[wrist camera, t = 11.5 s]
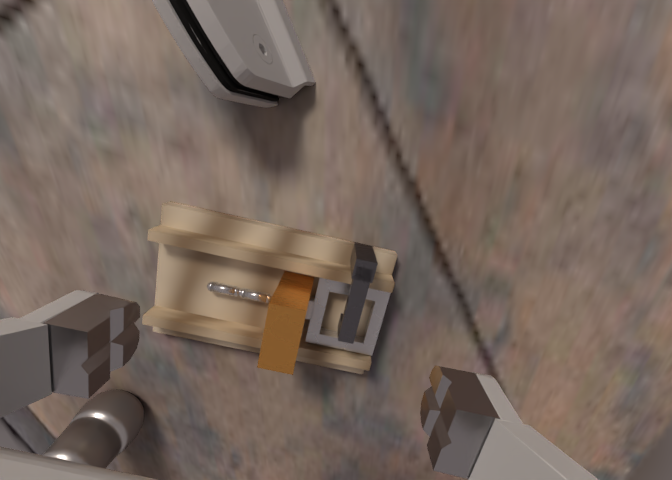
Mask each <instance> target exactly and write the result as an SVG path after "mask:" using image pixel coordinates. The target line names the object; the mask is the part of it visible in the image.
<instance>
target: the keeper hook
mask: <svg viewBox="0 0 672 480" xmlns="http://www.w3.org/2000/svg"><path fill="white" fill-rule="evenodd" d="M350 265H351V279H352V282H351V286H350V290H349V294H348V297H347V301H346V305H345V309H344V313H343V314H342V313H341V315H340V319H339V323H338V332H337V337H338V341H341V342H346V343H351V344H353V343H354V340H355V336H356V332H357V329H358V325H359V321H360V318H361V314H362V310H363V307H364V303H365V299H366V296H367V292H368V288H369V285H370V283H373V279H374V275H375V272H376V268H377V265H378V262H377V259H376V256H375V253H374V249H373V246H369V245H365V244H360V243H356V242H354V246H353V250H352V254H351V258H350Z"/></svg>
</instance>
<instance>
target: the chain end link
mask: <svg viewBox="0 0 672 480" xmlns="http://www.w3.org/2000/svg"><path fill="white" fill-rule="evenodd" d="M313 282H314V277H311V276H306V275H301V274H297V273H292V272H287V271H285V272H284V274H283V276H282V278H281V280H280V282H279V284H278V286H277V288H276V290H275V292H274V294H273V296H272V295H271V294H270V293H265V292H261V291H256V290H251V289H247V288H242V289H240V288H239V287H237V286H233V285H228V284H223V283H218V282H214V281H211V282H209V283H208V284H207V289H208V290H209V291H211V292H216V293H221V294H225V295H230V296H235V297H237V296H240V297H241V298H244V299H249V300H254V301H258V302H263V303H269V306H268V311H267V317H266V322H265V328H264V333H263V339H262V344H261V349H260V355H259V360H258V366H257V367H258V368H263V369H267V370H272V371H277V372H282V373H287V374H292V375H293V371H294V367H295V362H296V358H297V353H298V349H299V345H300V340H301V336H302V331H303V327H304V322H305V319H310V322H309V327H308V331H307V335H306V340H305V342H308V343H313V344H318V345H323V346H327V347H332V348H337V349H342V350H347V351H352V352H356V353H361V354H366V355H371V356H372V355H373V351H374V348H375V345H376V341H377V338H378V334H379V331H380V328H381V324H382V321H383V317H384V314H385V311H386V307H387V304H388V300H389V297H390V294H391V293H389V292H385V291H380V290H375V289H371V288H368V292H367V296H366V299H367V300H372V301H373V303H372V306H371V310H370V313H369V317H368V320H367V324H366V328H365V331H364V335H363V337H362V336H357V335H356V336H355V340H354V343H353V344H351V343H346V342H341V341H338V337H337V332H338V331H333V330H328V329H324V328H321V324H322V320H323V316H324V312H325V307H326V303H327V299H328V295H329V291H330V292H334V293H339V294H344V295H348V294H349V290H350V286H351V284H348V283H343V282H338V281H334V280H329V279H324V278H319V282H318V287H317V291H316V295H315V296H312V295H311V291H312V286H313Z"/></svg>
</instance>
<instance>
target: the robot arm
mask: <svg viewBox="0 0 672 480" xmlns="http://www.w3.org/2000/svg"><path fill="white" fill-rule="evenodd" d="M139 318H140V306H139V305H138V304H137V303H136V302H134V301H129V300H125V299H121V298H116V297H112V296H108V295H103V294H99V293H95V292H90V291H85V290H75V291H73V292H71V293H69V294H67V295H65V296H63V297H61V298H59V299H57V300H55V301H53V302H51V303H49V304H47V305H45V306H43V307H41V308H39V309H37V310H35V311H33V312H31V313H29V314H27V315H25V316H23V317H21V318H19V319H18V318H13V317H12V318H6V319H1V320H0V418H1V417H3V416H6V415H8V414H10V413H12V412H14V411H16V410H18V409H21V408H23V407H25V406H27V405H29V404H31V403H34V402H36V401H38V400H40V399H42V398H44V397H46V396H49V395H51V394H52V392H54V393H60V394H65V395H71V396H77V397H82V398H88V399H89V398H90V397H91V396H92V395H93V394H94V393H95V392H96V391H97V390H98V389H99V388H101V387H102V386H103V385H104V384H105V383H106V382H107V381H108V380H109V379H110V371H113V370H115V369H118V368H121V367H123V366H124V365H125V364H126V363H127V362H128V361H129V360H130V359H131V357H132V356H133V354H134V352H135V351H136V349H137V346H138V342H139V330H138V328H137V327H136V325H135V324H134V323H135V322H136V321H137V320H138V319H139ZM429 379H430V382H431V385H432V386H431V387H430V388H429V389H427V390H426V391H425V392H424V395H423V398H422V401H421V411H420V414H421V423H422V427H423V430H424V431H425V432H426V433H427V435H428V436H429V437H430V438H429V441H428V443H427V447H428V451H429V455H430V459H431V463H432V467H433V471H438V472H442V473H446V474H450V475H454V476H458V477H463V478H467V479H469V480H598V479H597V478H596V477H594V476H593V475H592V474H591V473H589V472H588V471H587V470H585V469H584V468H583V467H582V466H580V465H579V464H578V463H577V462H575V461H574V460H573V459H571V458H570V457H569V456H568V455H566V454H565V453H564V452H563V451H561V450H560V449H559V448H557V447H556V446H555V445H554V444H552V443H551V442H550V441H549V440H547V439H546V438H545V437H544V436H542V435H541V434H540V433H538V432H537V431H536V430H535V429H533V428H532V427H531V426H529V425H524V424H523V423H522V421H521V420H520V418H519V416H518V415H517V413H516V412H515V410H514V408H513V407H512V405H511V404H510V402H509V400H508V399H507V397H506V396H505V394H504V392H503V391H502V389H501V388H500V386H499V384H498V383H497V381H496V380H495V378H493V377H492V376H490V375H485V374H479V373H474V372H466V371H461V370H456V369H451V368H445V367H440V366H435V367H434V368H433V369H432V372H431V374H430V377H429ZM0 480H159V479H154V478H149V477H144V476H140V475H135V474H130V473H125V472H120V471H115V470H111V469H106V468H101V467H96V466H91V465H86V464H82V463H77V462H72V461H67V460H62V459H57V458H53V457H48V456H43V455H38V454H33V453H28V452H24V451H19V450H14V449H9V448H4V447H0Z"/></svg>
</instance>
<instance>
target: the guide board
mask: <svg viewBox="0 0 672 480" xmlns="http://www.w3.org/2000/svg"><path fill="white" fill-rule="evenodd" d="M148 240H149V241H153V242H158V243H159V254H158V268H157V281H156V295H155V306H154V307H152V308H151V309H150V310H149V311H147V312H146V313H145V314H144V315H143V323H142V324H145V325H150V326H153V331H154V332H159V333H163V334H168V335H173V336H178V337H183V338H188V339H193V340H197V341H202V342H207V343H212V344H217V345H222V346H227V347H231V348H236V349H241V350H246V351H251V352H256V353H260V349H261V344H262V339H263V333H264V328H265V322H266V317H267V311H268V306H269V303H263V302H258V301H254V300H249V299H244V298H241V297H240V296H237V297H235V296H230V295H225V294H221V293H216V292H211V291H209V290H208V289H207V284H208V283H209V282H211V281H214V282H218V283H223V284H228V285H233V286H237V287H239V288H240V289H242V288H247V289H251V290H256V291H261V292H265V293H270V294H271V295H272V296H273V294H274V292H275V290H276V288H277V286H278V284H279V282H280V280H281V278H282V276H283V274H284V272H285V271H287V272H292V273H297V274H301V275H306V276H311V277H314V282H313V286H312V291H311V295H312V296H315V295H316V291H317V287H318V282H319V278H324V279H329V280H334V281H338V282H343V283H348V284H351V282H352V279H351V265H350V258H351V254H352V250H353V246H354V242H351V241H347V240H342V239H338V238H333V237H329V236H324V235H320V234H315V233H311V232H306V231H302V230H297V229H293V228H288V227H284V226H279V225H275V224H270V223H266V222H261V221H256V220H252V219H247V218H243V217H238V216H234V215H229V214H225V213H220V212H216V211H211V210H207V209H202V208H198V207H193V206H189V205H184V204H180V203H175V202H171V201H170V202H167V203H163V204H162V214H161V225H159V226H157V227H154V228H152V229H149V230H148ZM373 249H374V253H375V256H376V259H377V262H378V265H377V268H376V272H375V275H374V279H373V283H370V285H369V288H371V289H375V290H380V291H385V292H389V293H392V292H393V288H394V285H395V283H394V280H393V277H392V273H393V269H394V266H395V262H396V259H397V254H396V252H395V251H392V250H387V249H383V248H378V247H374V246H373ZM347 297H348V295H344V294H339V293H334V292H330V291H329V295H328V299H327V303H326V307H325V312H324V316H323V320H322V324H321V328H324V329H328V330H333V331H338V323H339V319H340V315H341V313H342V314H343V313H344V309H345V305H346V301H347ZM372 303H373V301H372V300H367V299H365V303H364V307H363V310H362V314H361V318H360V321H359V325H358V329H357V332H356V335H357V336H362V337H363V335H364V331H365V328H366V324H367V320H368V317H369V313H370V310H371V306H372ZM309 322H310V319H305V322H304V327H303V331H302V336H301V340H300V345H299V349H298V353H297V358H296V361H300V362H304V363H309V364H314V365H319V366H324V367H329V368H334V369H338V370H343V371H348V372H353V373H358V374H363V372H364V370H368V371H369V369H370V366H371V355H366V354H361V353H356V352H352V351H347V350H342V349H337V348H332V347H327V346H323V345H318V344H313V343H308V342H305V340H306V335H307V331H308V327H309Z"/></svg>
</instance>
